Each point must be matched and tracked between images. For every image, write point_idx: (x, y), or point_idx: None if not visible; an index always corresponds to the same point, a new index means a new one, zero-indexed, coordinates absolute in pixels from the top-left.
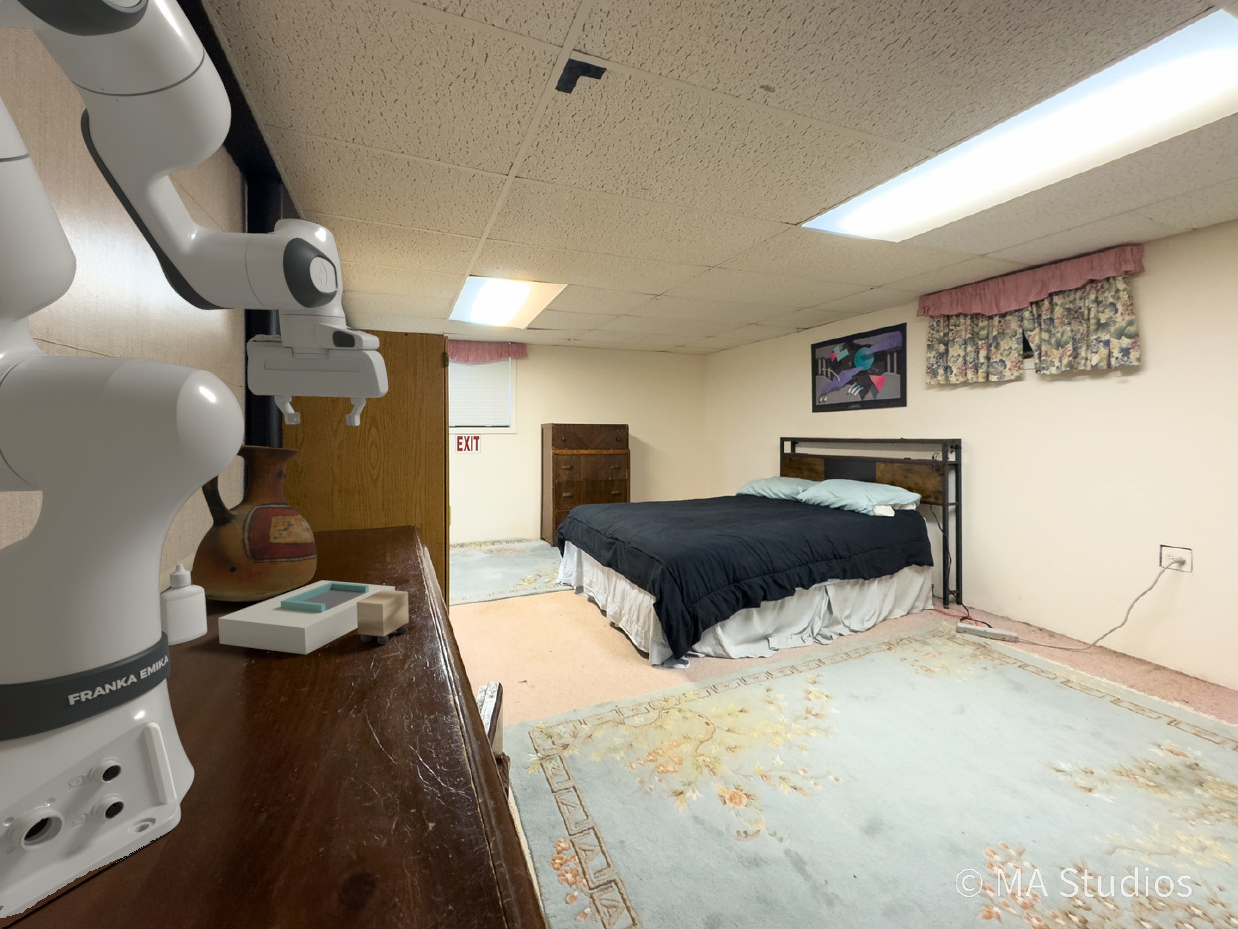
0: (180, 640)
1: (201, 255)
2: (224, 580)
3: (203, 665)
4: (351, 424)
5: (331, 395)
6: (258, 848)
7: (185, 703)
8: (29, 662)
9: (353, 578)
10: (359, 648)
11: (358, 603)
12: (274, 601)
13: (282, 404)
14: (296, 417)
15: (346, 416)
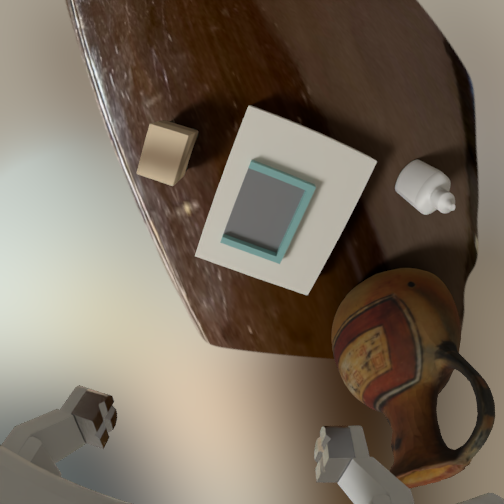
0: (408, 164)
1: None
2: (415, 274)
3: (353, 96)
4: (90, 390)
5: (88, 492)
6: None
7: (317, 15)
8: None
9: (295, 351)
10: (195, 117)
11: (186, 134)
12: (335, 215)
13: (379, 489)
14: (323, 456)
15: (89, 414)
